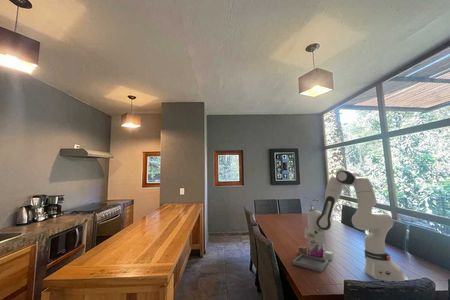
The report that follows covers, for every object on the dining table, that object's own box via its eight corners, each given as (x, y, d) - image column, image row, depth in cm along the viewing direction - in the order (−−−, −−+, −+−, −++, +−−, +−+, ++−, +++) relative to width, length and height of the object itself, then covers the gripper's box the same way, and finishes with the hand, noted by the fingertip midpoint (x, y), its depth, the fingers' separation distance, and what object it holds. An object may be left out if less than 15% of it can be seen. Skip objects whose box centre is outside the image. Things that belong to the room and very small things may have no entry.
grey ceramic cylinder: (325, 250, 178) (324, 241, 178) (323, 252, 174) (323, 243, 175) (319, 249, 181) (318, 240, 182) (317, 250, 177) (316, 242, 178)
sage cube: (333, 258, 160) (332, 252, 160) (331, 261, 156) (331, 254, 157) (326, 257, 163) (326, 250, 164) (324, 259, 159) (324, 252, 160)
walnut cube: (307, 253, 172) (306, 247, 173) (305, 255, 168) (304, 248, 169) (301, 251, 175) (300, 245, 176) (299, 253, 172) (298, 247, 172)
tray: (328, 263, 152) (328, 260, 152) (321, 272, 138) (321, 268, 138) (301, 256, 165) (301, 253, 165) (292, 264, 151) (292, 261, 151)
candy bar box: (308, 255, 166) (307, 235, 168) (308, 253, 171) (307, 233, 173) (323, 257, 162) (322, 236, 164) (323, 255, 167) (321, 234, 168)
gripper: (302, 226, 178) (303, 243, 176) (320, 233, 158) (321, 251, 157) (308, 226, 180) (309, 242, 178) (326, 232, 160) (327, 250, 159)
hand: (315, 247), depth 167 cm, fingers open, 8 cm apart
